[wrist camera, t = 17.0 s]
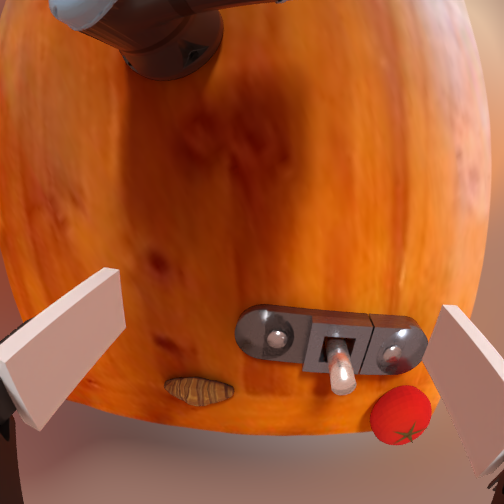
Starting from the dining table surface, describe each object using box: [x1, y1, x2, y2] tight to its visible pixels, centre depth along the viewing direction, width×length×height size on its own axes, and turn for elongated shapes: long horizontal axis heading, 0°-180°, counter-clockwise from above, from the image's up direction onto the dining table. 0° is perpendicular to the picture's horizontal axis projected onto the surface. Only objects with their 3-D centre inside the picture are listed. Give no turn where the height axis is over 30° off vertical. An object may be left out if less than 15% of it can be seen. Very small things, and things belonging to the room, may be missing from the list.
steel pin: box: [324, 336, 356, 395], centre depth 40 cm, size 3×3×12 cm
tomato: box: [370, 385, 432, 445], centre depth 44 cm, size 12×12×10 cm
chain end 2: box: [302, 314, 428, 375], centre depth 43 cm, size 20×9×5 cm, turn 86°
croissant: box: [164, 377, 234, 406], centre depth 50 cm, size 14×7×5 cm, turn 93°
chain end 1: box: [235, 304, 370, 363], centre depth 45 cm, size 20×9×3 cm, turn 86°
